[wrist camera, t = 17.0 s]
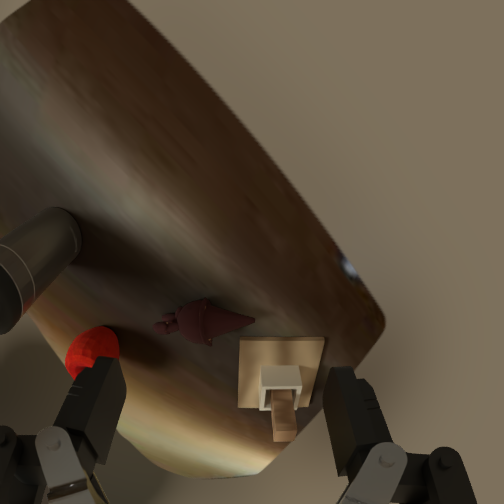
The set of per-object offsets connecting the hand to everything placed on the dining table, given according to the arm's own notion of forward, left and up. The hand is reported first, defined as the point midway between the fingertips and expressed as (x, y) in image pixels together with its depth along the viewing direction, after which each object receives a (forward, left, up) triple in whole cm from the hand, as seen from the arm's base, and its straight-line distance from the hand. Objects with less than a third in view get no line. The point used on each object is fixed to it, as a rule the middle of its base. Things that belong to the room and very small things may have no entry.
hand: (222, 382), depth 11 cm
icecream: (-4, -20, -33) cm, 39 cm away
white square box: (+8, -34, -32) cm, 47 cm away
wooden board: (+8, -34, -33) cm, 48 cm away
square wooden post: (+8, -34, -31) cm, 47 cm away
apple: (-23, -27, -33) cm, 49 cm away
